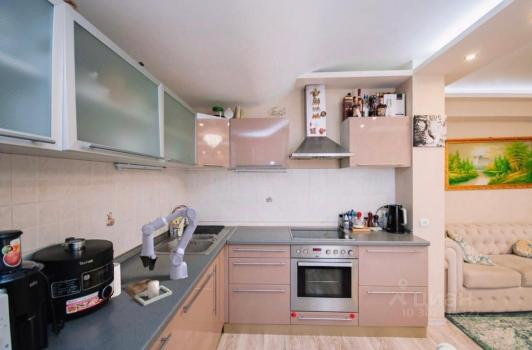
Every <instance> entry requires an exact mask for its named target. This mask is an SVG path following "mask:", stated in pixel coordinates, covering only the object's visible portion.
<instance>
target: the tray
mask: <svg viewBox="0 0 532 350" xmlns="http://www.w3.org/2000/svg"><path fill="white" fill-rule="evenodd" d="M159 290H163V291H165V293H162V294H159V296H157V297H155V298H153V299H148V300H146V301H145V300H144V299H143V298H141V297H145V292H143V293H141V294H138V295H135V298H134V299H135V300H137V301H138V302H139V303H140V304H142V305H143V308H147V307H149V306H152V305H154V304H156V303H158V301H159V302H161V301H164V300H166V299H168V298H170V297H173V290H170V289H169V288H168V287H166V286H164V285H159ZM147 293H148V292H147ZM167 297H168V298H167ZM165 298H166V299H165Z"/></svg>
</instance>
